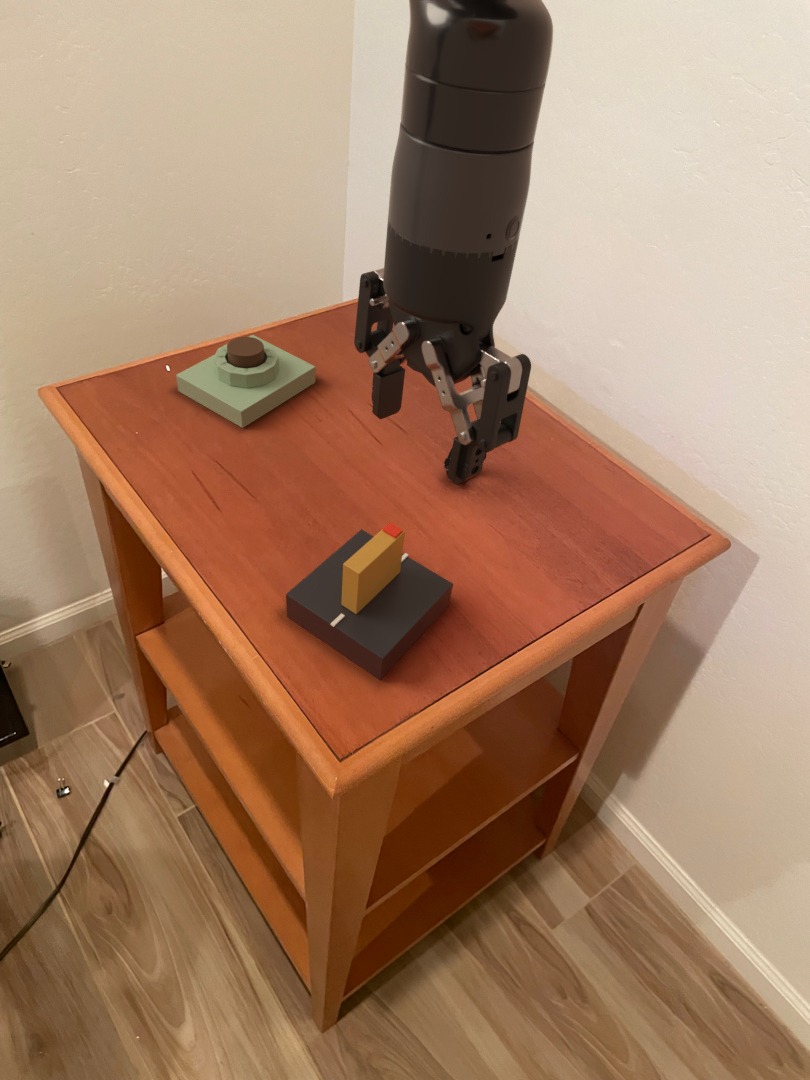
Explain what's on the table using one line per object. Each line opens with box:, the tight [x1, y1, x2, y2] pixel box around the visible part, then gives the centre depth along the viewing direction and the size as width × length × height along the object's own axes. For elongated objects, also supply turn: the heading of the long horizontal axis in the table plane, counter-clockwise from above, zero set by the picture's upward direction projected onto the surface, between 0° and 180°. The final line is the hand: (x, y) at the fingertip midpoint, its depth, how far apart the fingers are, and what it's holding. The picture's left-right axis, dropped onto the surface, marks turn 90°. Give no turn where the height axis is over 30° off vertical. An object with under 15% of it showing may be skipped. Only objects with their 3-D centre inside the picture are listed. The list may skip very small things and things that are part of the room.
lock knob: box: [341, 522, 406, 614], centre depth 59 cm, size 6×2×5 cm, turn 144°
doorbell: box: [175, 334, 316, 429], centre depth 83 cm, size 12×10×4 cm
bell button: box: [226, 336, 265, 369], centre depth 81 cm, size 4×4×2 cm
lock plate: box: [285, 529, 454, 681], centre depth 62 cm, size 10×10×3 cm
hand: (422, 444), depth 53 cm, fingers open, 8 cm apart
